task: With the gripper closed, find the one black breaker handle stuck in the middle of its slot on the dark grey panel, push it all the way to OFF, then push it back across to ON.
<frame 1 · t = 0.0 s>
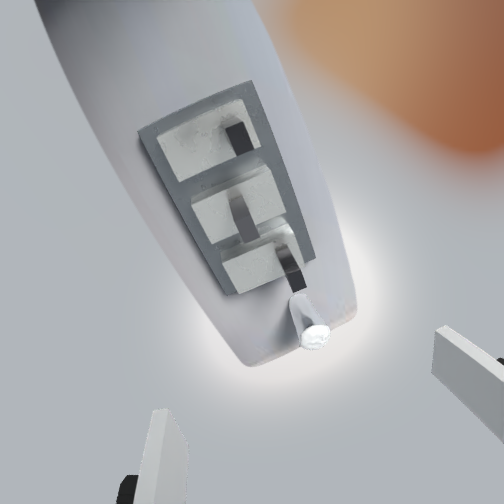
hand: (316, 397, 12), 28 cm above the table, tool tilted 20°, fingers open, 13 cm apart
breaker panel: (234, 194, 36), on the table
milkshake: (295, 299, 47), on the table
tripped breaker: (243, 218, 30), point 7 cm above the table, slide at 0.0 cm
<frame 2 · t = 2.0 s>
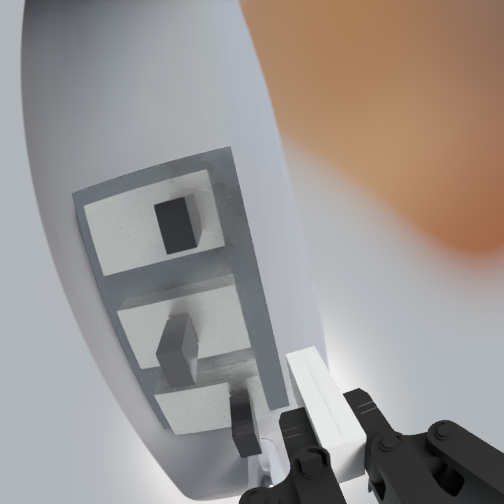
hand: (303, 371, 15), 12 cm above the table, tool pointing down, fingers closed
breaker panel: (188, 307, 26), on the table
milkshake: (257, 444, 31), on the table
tripped breaker: (179, 349, 19), point 7 cm above the table, slide at 0.0 cm
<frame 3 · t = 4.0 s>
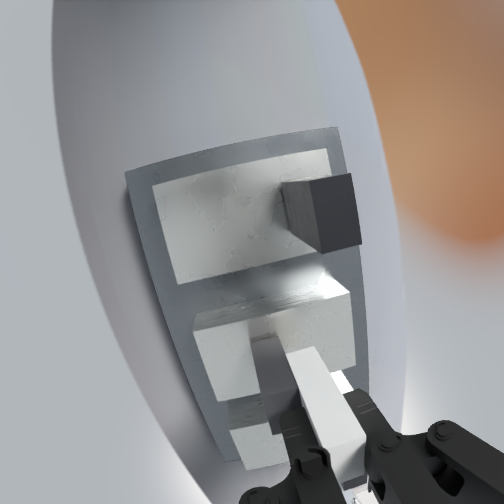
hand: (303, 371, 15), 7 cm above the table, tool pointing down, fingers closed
breaker panel: (269, 320, 21), on the table
milkshake: (320, 466, 26), on the table
tripped breaker: (275, 382, 14), point 7 cm above the table, slide at -0.8 cm, touching gripper
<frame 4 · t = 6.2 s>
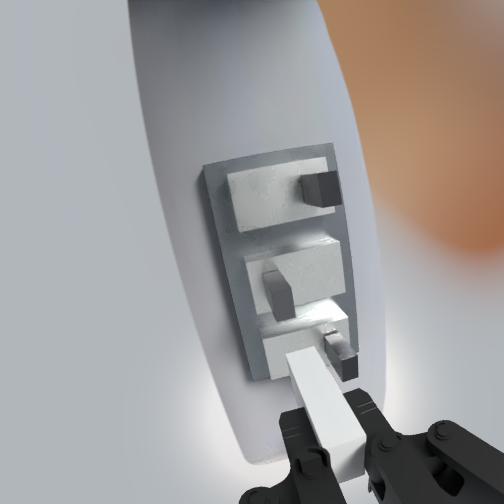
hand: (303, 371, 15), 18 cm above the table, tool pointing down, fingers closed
breaker panel: (288, 266, 33), on the table
tripped breaker: (278, 294, 26), point 7 cm above the table, slide at -2.5 cm
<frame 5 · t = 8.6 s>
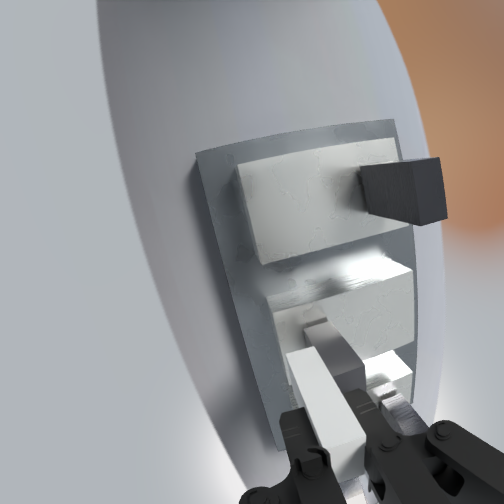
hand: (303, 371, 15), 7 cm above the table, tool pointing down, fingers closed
breaker panel: (329, 303, 22), on the table
milkshake: (361, 451, 26), on the table
tripped breaker: (333, 365, 14), point 7 cm above the table, slide at -2.2 cm, touching gripper
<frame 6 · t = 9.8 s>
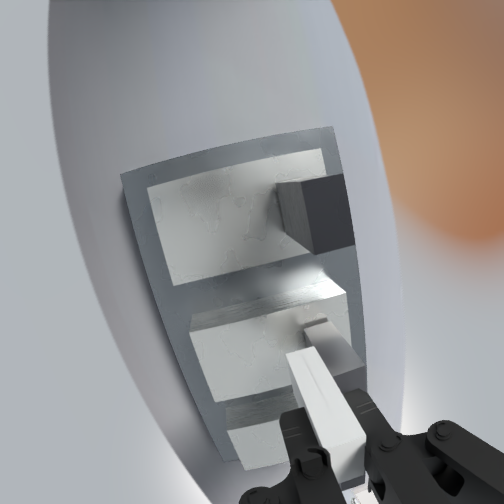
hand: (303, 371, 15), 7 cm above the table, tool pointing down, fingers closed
breaker panel: (266, 321, 21), on the table
milkshake: (319, 466, 26), on the table
tripped breaker: (333, 365, 15), point 7 cm above the table, slide at 2.5 cm, touching gripper
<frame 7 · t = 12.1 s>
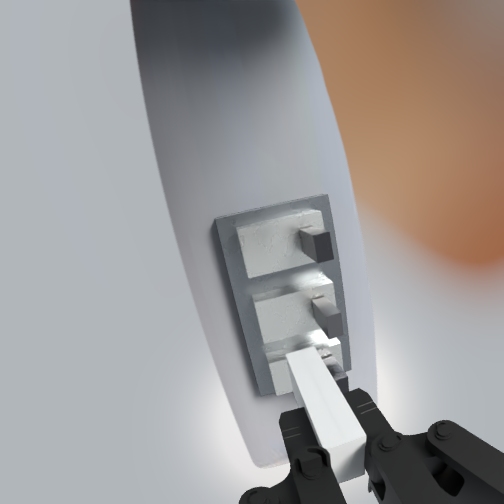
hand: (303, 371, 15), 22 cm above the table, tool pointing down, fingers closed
breaker panel: (289, 300, 38), on the table
tripped breaker: (327, 317, 31), point 7 cm above the table, slide at 2.5 cm
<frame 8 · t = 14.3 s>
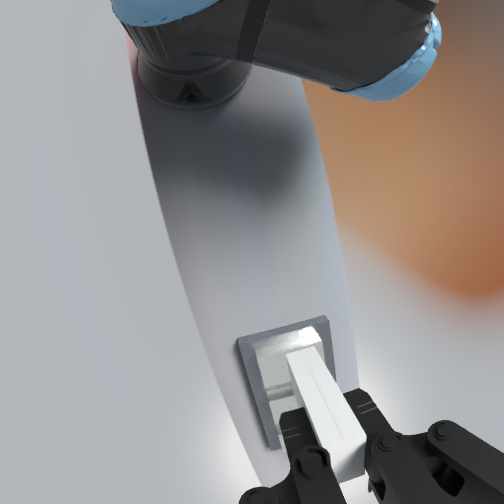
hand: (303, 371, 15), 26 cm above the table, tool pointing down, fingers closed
breaker panel: (294, 388, 46), on the table
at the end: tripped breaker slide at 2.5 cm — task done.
